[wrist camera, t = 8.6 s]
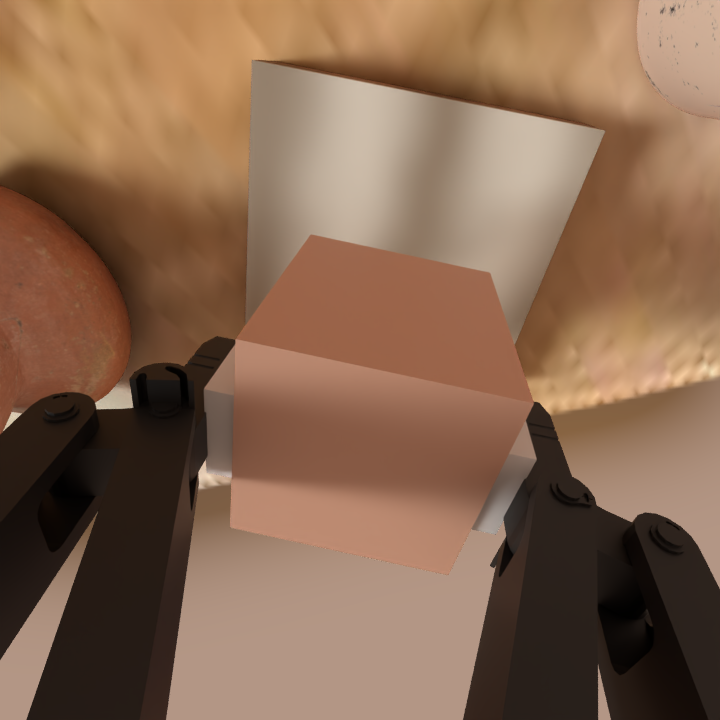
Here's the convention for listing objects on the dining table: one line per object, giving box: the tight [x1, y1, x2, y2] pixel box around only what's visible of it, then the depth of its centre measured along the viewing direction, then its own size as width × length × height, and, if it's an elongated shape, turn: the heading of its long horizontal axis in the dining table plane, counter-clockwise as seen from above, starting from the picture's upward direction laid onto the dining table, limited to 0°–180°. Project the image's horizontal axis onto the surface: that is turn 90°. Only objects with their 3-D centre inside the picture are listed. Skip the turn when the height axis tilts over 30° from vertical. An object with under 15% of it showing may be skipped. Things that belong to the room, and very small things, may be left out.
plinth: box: [245, 60, 605, 345], centre depth 23 cm, size 14×14×3 cm
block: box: [230, 234, 534, 575], centre depth 13 cm, size 6×6×7 cm
